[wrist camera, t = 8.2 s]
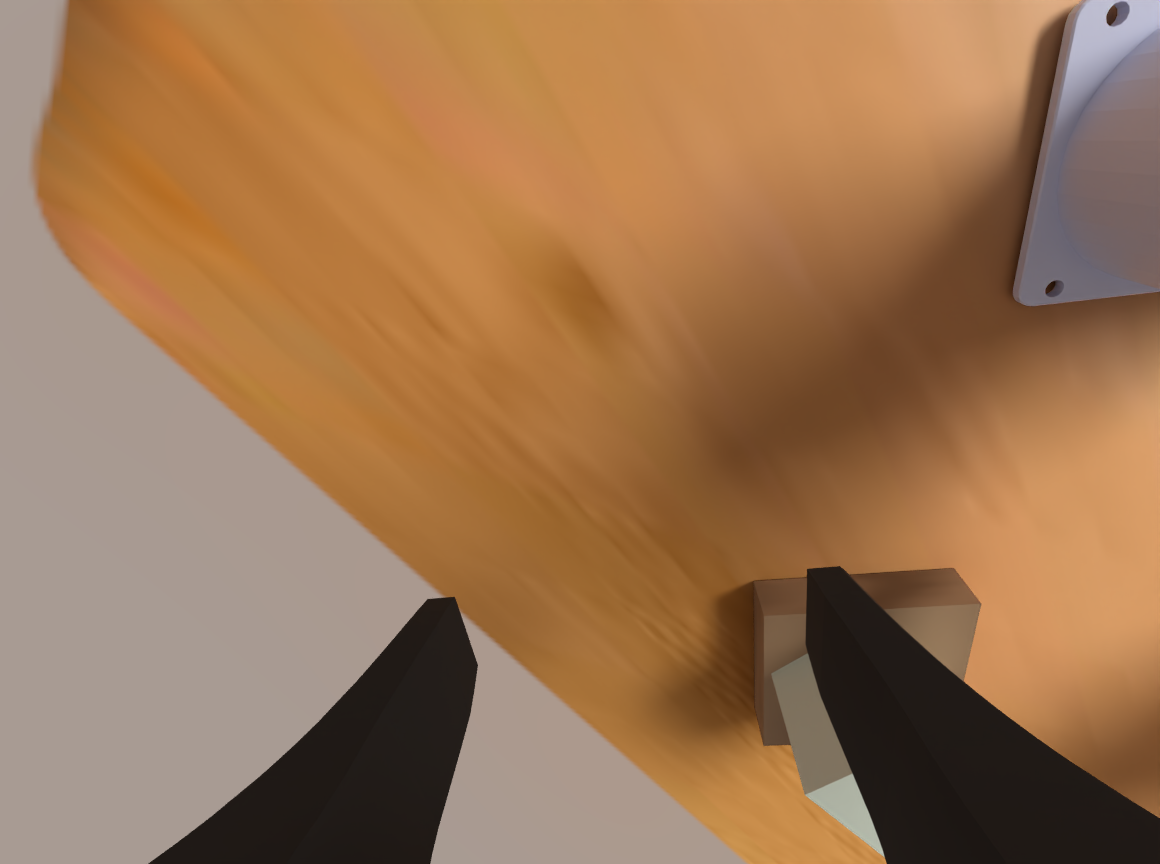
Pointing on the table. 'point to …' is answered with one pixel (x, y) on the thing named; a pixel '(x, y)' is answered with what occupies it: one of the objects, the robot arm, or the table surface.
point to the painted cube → (820, 750)
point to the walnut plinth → (912, 598)
